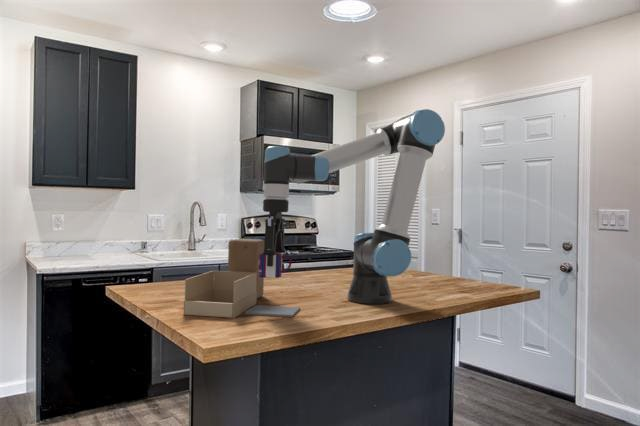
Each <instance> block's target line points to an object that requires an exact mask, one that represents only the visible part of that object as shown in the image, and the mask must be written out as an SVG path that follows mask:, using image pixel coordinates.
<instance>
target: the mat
mask: <svg viewBox="0 0 640 426" xmlns="http://www.w3.org/2000/svg"><path fill="white" fill-rule="evenodd" d="M300 310H301V307H299V306H283V305H282V306H280V305H263V304H255V305H253V306H252V307H250V308H249V309H247V310H246V311H244V315H247V316H249V315H250V316H263V317H265V316H266V317H281V318H293V317H294V316H295V315H296V314H297V313H298V312H299V311H300Z"/></svg>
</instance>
